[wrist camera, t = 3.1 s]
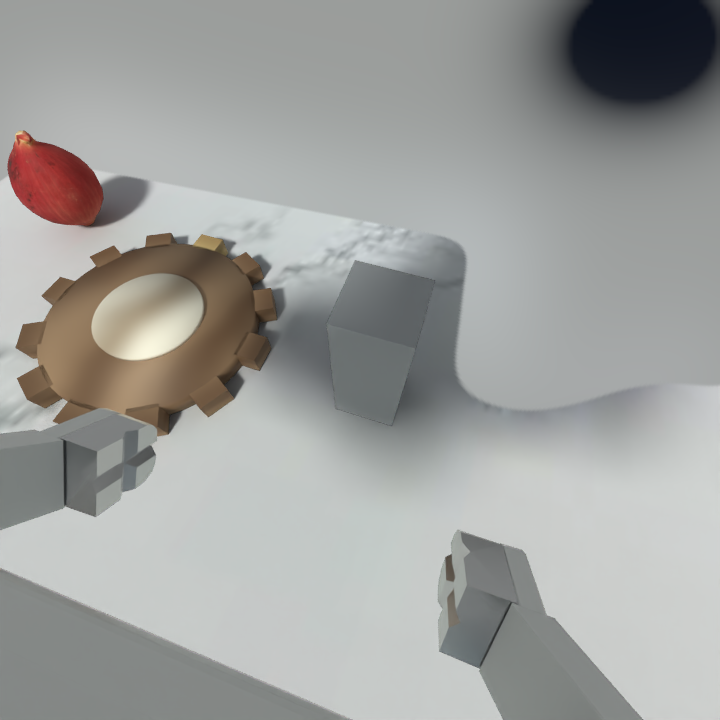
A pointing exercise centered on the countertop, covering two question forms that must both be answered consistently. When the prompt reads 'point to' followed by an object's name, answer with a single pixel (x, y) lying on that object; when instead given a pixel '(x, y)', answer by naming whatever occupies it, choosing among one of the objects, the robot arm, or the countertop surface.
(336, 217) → the countertop surface
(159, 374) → the sprocket
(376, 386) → the gray rectangular block
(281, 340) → the countertop surface
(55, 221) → the red fruit
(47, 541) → the countertop surface
